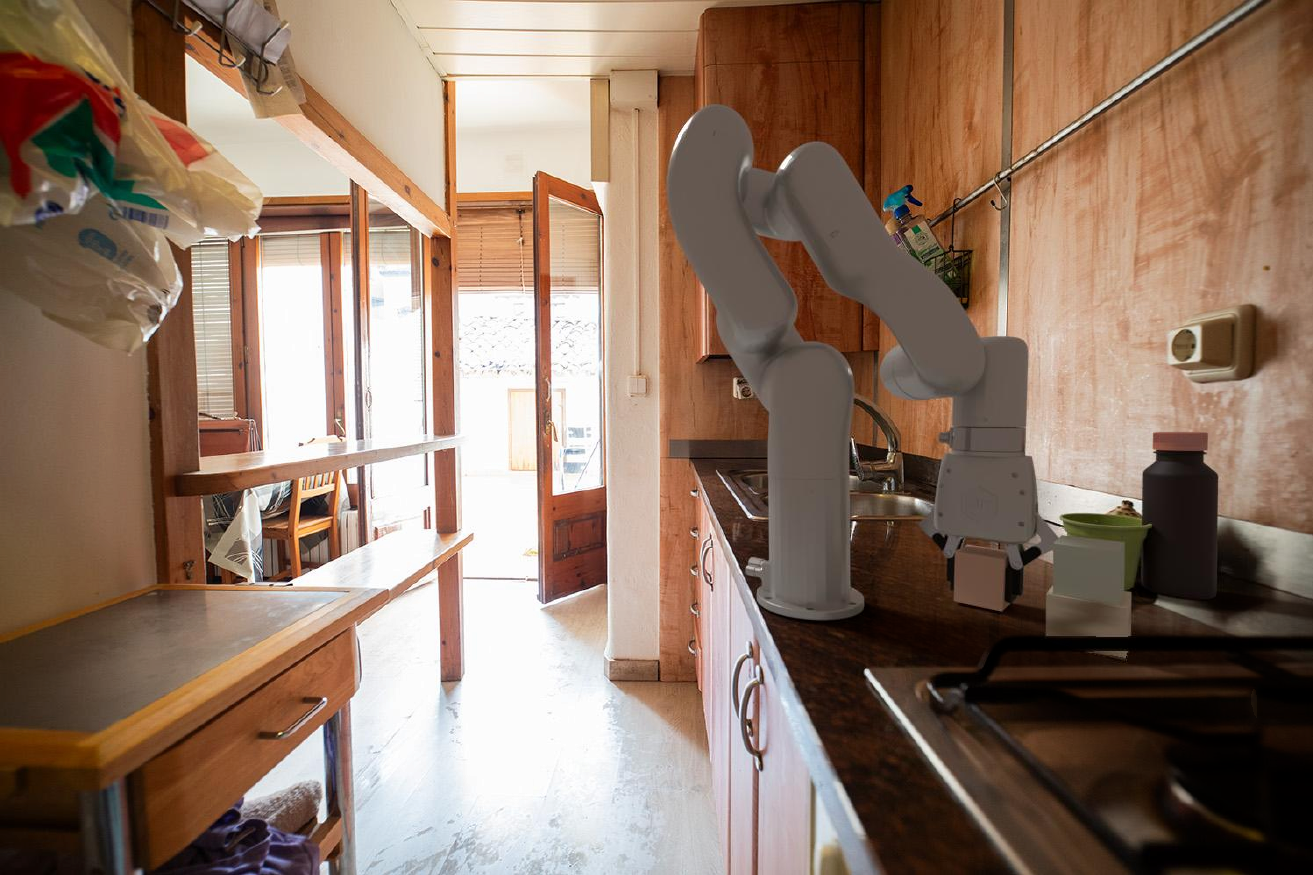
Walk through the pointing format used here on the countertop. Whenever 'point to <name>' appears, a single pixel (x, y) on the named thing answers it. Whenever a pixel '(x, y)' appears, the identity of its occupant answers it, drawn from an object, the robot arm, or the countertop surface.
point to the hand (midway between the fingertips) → (983, 592)
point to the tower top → (1089, 569)
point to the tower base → (1088, 618)
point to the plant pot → (1111, 535)
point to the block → (980, 577)
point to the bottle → (1180, 518)
